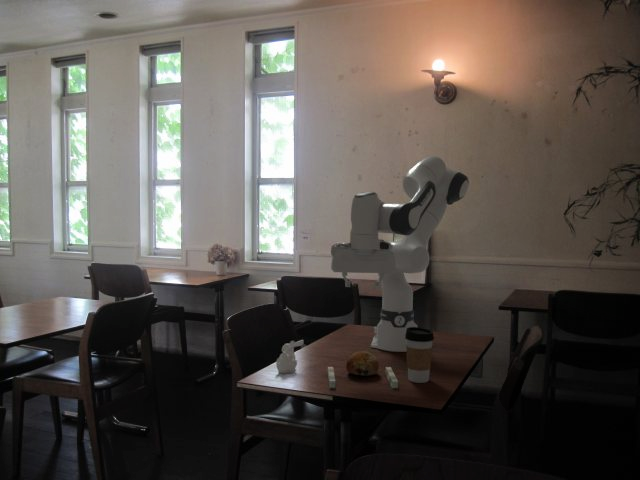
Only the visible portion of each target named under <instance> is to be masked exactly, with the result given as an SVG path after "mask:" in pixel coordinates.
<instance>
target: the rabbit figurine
mask: <svg viewBox="0 0 640 480" xmlns="http://www.w3.org/2000/svg"><path fill="white" fill-rule="evenodd" d="M304 340H305V339H301V340H298V341H295V340H291V341H290V342H289V343H284V345H282V347H281V352H282V353H281V354H279V357H278V358H276V364H275V365H276V368H277V372H278V373H280V374H283V375H286V374H292V373H294V372H296V370H297V369H296V368H297V365H298V361H297V359H296V355H295V353H294V352H295V349H294V348H296V347H301V346H303V345H304Z"/></svg>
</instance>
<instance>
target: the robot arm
mask: <svg viewBox="0 0 640 480" xmlns="http://www.w3.org/2000/svg"><path fill="white" fill-rule="evenodd" d="M469 182H470V181H469V177H468V176H467V175H465V174H464V173H462V172H461V171H457V170H454V169H452V168H449V167H447V166H446V163H445V161H444V160H443V159H442V158H440V156H439V157H438V156H436V155H431V156H430V155H429V156H427V157H425V158H424V159H421V160H420V161H419V162H417V163H416V164H415V165H413V166H412V167H410V169H409V170H408V171H406V172H405V174H404V176H403V179H402V187H403V191H404V192H405V194H406V196H407V197H408V198H410V199H411V200H410V201H408V202H404V203H388V202H387V203H386V202H384V201H383V200H381V199H380V198H379V196H378V193H377V192H375V191H366V192H363V191H362V192H359V193H356V194H355V195H354V196H353V198H352V201H351V209H350V222H351V229H350V231H349V234H350V238H349V242H342V243H341V242H337V243H335V244H333V245H332V246H330V247H331V248H330V255H331V264H330V268H331V271H332V272H333V273H341V276H342V278H343V280H344V281H345V282H344V285H345V288H351V282H352V281H350V280H348V278H347V277H348V273H350V274H351V273H352V274H355V273H358V274H378V279H377V280H375V281H374V287H375V288H381V295H382V296H381V297H382V300H381V301H382V302H381V303H382V304H381V305H382V307H381V309H380V320H379V322H378V324H377V325H376V326H373V329H374V331H373V333H374V334H375V335H373V338H372V341H371V344H370V347H371V348H373V349H379V350H382V351H386V352H394V353H395V352H398V353H399V352H401V353H402V352H405V353H407V351H406V345H407V341H406V339H405V335H406V330H407V328H409V327H418V325H417V324H416V323H415V321H414V319H415V318H414V317H415V311H414V309H413V300H414V290H413V288H412V285H411V284H409V282H408V281H407V279H406V277H405V274H410V275H412V274H419V273H422V272H424V271H425V270H427V268H428V267H429V264H430V253H429V251H428V249H427V247H428V242H429V241H430V239H431V237H432V235H433V234H434V232H435V231H436V229H437V227H438V226H439V225H440V223H441V221H442V219H443V217H444V215H445V212H446V210H447V206H448V205H453V204H454V203H457V202H458V201H460V200H462V199H463V198H464V197H465V195H466V194H467V192H468V189H469V186H470V185H469V184H470V183H469ZM379 233H381V234H392V235H394V234H395V235H401V236H403V238H402V239H401V240H400V241H394V240H384V239H380V238H379Z"/></svg>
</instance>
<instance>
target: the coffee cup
mask: <svg viewBox="0 0 640 480" xmlns="http://www.w3.org/2000/svg"><path fill="white" fill-rule="evenodd" d="M405 339H406V341H407V345H406V365H407V376H408V377H407V379H408V381H410V382H412V383H416V384H417V383H419V384H421V383H422V384H423V383H424V384H425V383H427V382H429V379H430V372H431V371H430V370H431V364H432V356H433V348H434V347H433V341H434V340H435V336H434V331H432V330H431V329H427V328H423V327H418V326H417V327H409V328H407V330H406V335H405Z"/></svg>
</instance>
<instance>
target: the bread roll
mask: <svg viewBox="0 0 640 480" xmlns="http://www.w3.org/2000/svg"><path fill="white" fill-rule="evenodd" d="M345 365H346V367H345V368H346V371H347V373H348V374H351V375H356V376H364V377H365V376H374V375H376V374H377V373H378V371H379V367H380V364H379V360H378V358H377V357H376V356H375V355H374V354H372V353H370V352H368V351H362V350H361V351H356V352H354V353H352V355H350V356H349V357H348V358H347V360H346V364H345Z"/></svg>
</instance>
